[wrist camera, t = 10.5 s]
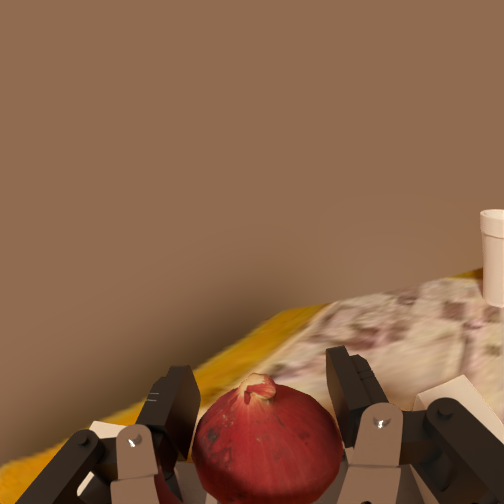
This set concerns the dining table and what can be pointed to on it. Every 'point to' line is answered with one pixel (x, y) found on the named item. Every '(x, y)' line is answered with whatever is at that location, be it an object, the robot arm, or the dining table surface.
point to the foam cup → (493, 256)
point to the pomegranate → (266, 446)
